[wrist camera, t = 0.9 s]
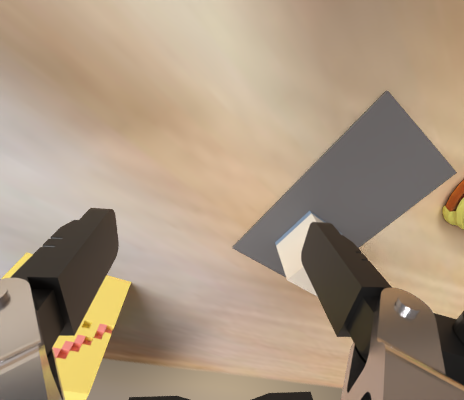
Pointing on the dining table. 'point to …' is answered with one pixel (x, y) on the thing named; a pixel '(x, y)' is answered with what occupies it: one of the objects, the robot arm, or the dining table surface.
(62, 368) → the toy block
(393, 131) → the rubber mat
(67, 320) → the robot arm
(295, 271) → the cream cube
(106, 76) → the dining table surface
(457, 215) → the cheeseburger
